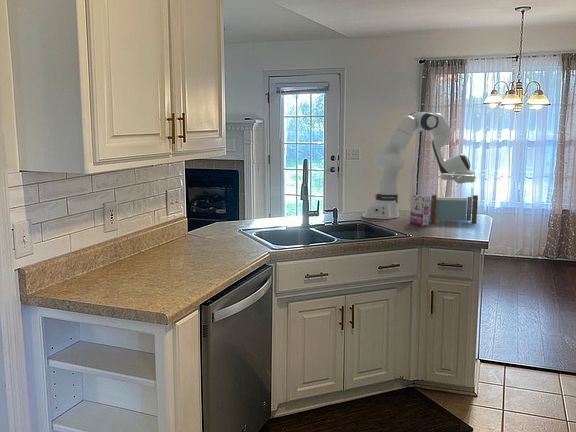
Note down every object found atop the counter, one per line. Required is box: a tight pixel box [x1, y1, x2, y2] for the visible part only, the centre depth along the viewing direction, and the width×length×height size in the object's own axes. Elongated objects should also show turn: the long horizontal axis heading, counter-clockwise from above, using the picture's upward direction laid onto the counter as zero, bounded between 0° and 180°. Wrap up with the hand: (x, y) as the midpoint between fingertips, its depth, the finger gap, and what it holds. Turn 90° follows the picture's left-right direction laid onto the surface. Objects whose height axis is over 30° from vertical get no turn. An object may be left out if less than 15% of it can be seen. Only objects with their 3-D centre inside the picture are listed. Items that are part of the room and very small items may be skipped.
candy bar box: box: [409, 194, 431, 227], centre depth 314 cm, size 11×5×16 cm, turn 25°
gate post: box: [471, 194, 479, 225], centre depth 318 cm, size 2×3×16 cm
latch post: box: [430, 194, 437, 224], centre depth 320 cm, size 2×2×16 cm
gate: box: [429, 196, 473, 222], centre depth 321 cm, size 23×2×14 cm, turn 80°
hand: (455, 178), depth 336 cm, fingers closed
